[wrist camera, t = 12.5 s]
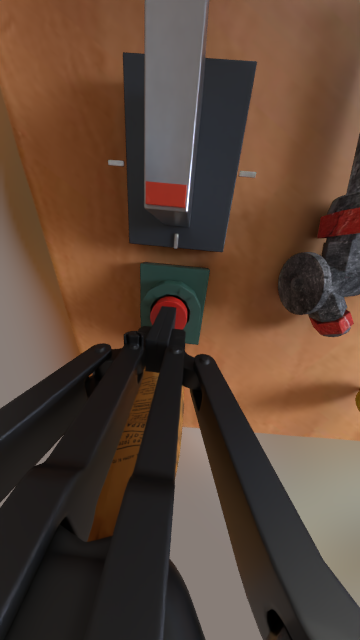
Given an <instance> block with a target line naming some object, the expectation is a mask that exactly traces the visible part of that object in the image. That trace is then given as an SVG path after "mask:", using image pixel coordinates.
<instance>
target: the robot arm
mask: <svg viewBox="0 0 360 640" xmlns="http://www.w3.org/2000/svg"><path fill="white" fill-rule="evenodd" d="M175 320H176V307H167V306H162V307H161V309H160V311H159V313H158V315H157V317H156V319H155V321H154V323H153V325H152V327H151V326H142V327H141V328H139V330H138V331H130V332H127V333H125V334H124V346H123V348H120V349H111V346H110V345H108V344H104V343H103V344H97V345H94V346H92V347H91V348H89V349H88V350H86V351H85V352H83V353H82V354H80V355H79V356H77V357H76V358H75V359H73V360H72V361H70V362H69V363H67V364H66V365H64V366H63V367H61V368H60V369H58V370H57V371H55V372H54V373H52V374H51V375H49V376H48V377H47V378H45V379H43V380H42V381H40V382H39V383H38V384H36V385H35V386H33V387H32V388H30V389H29V390H27V391H26V392H24V393H23V394H21V395H20V396H18V397H17V398H15V399H14V400H12V401H11V402H9V403H8V404H7V405H5V406H3V407H2V408H1V409H0V502H1V501H2V500H3V499H4V498H5V497H6V496H7V495H8V494H9V493H10V491H11V490H12V489H13V488H14V487H15V486H16V485H17V486H16V487H15V488H14V490H13V491H12V492H11V494H10V495H9V497H8V498H7V499H6V501H5V502H4V503H3V505H2V506H1V508H0V640H205V637H204V634H203V631H202V628H201V625H200V623H199V620H198V617H197V614H196V611H195V608H194V605H193V602H192V600H191V597H190V594H189V591H188V589H187V587H186V585H185V582H184V580H183V578H182V576H181V575H180V573H179V571H178V570H177V568H176V567H175V565H174V564H173V562H172V561H171V560H170V559H169V556H170V542H171V528H172V516H173V503H174V489H175V469H176V456H177V443H178V431H179V418H180V405H181V393H182V386H185V387H187V388H190V393H191V397H192V401H193V404H194V408H195V412H196V415H197V419H198V423H199V426H200V430H201V434H202V437H203V441H204V445H205V448H206V452H207V456H208V459H209V463H210V467H211V471H212V474H213V478H214V482H215V485H216V489H217V493H218V496H219V500H220V504H221V507H222V511H223V515H224V518H225V522H226V525H227V529H228V533H229V537H230V541H231V544H232V548H233V552H234V555H235V559H236V563H237V566H238V570H239V573H240V576H241V579H242V583H243V586H244V589H245V593H246V596H247V599H248V601H249V604H250V607H251V609H252V612H253V615H254V618H255V620H256V623H257V626H258V629H259V631H260V634H261V636H262V638H263V640H360V607H359V606H358V605H357V604H356V602H355V601H354V600H353V598H352V597H351V596H350V594H349V593H348V592H347V591H346V589H345V588H344V587H343V585H342V584H341V583H340V581H339V580H338V579H337V577H336V576H335V575H334V573H333V572H332V571H331V570H330V568H329V567H328V566H327V564H326V563H325V562H324V560H323V558H322V557H321V555H320V553H319V551H318V549H317V547H316V546H315V544H314V542H313V540H312V538H311V536H310V535H309V533H308V531H307V529H306V527H305V525H304V524H303V522H302V520H301V518H300V516H299V514H298V513H297V511H296V509H295V507H294V505H293V503H292V502H291V500H290V498H289V496H288V494H287V492H286V491H285V489H284V487H283V485H282V483H281V482H280V480H279V478H278V476H277V474H276V472H275V470H274V469H273V467H272V465H271V463H270V461H269V459H268V458H267V456H266V454H265V452H264V450H263V449H262V447H261V445H260V443H259V441H258V439H257V437H256V436H255V434H254V432H253V430H252V428H251V426H250V425H249V423H248V421H247V419H246V417H245V415H244V414H243V412H242V410H241V408H240V406H239V404H238V403H237V401H236V399H235V397H234V395H233V393H232V392H231V390H230V388H229V386H228V384H227V382H226V381H225V379H224V377H223V375H222V373H221V371H220V370H219V368H218V366H217V364H216V362H215V360H214V359H213V358H212V357H210V356H209V355H205V354H200V355H197V356H196V357H195V358H194V357H191V356H189V355H188V354H187V353H186V352H185V338H186V332H185V331H184V330H182V329H175ZM144 368H145V371H148V372H156V373H159V376H158V380H157V384H156V388H155V391H154V395H153V399H152V403H151V406H150V410H149V414H148V418H147V422H146V425H145V429H144V433H143V437H142V441H141V444H140V448H139V452H138V456H137V460H136V463H135V467H134V471H133V473H132V476H131V477H130V478H129V480H128V483H127V486H126V489H125V492H124V496H123V499H122V503H121V506H120V510H119V514H118V517H117V521H116V524H115V528H114V532H113V535H112V536H109V537H105V538H101V539H97V540H94V541H90V542H87V540H88V538H89V535H90V531H91V528H92V525H93V521H94V515H95V509H96V505H97V502H98V499H99V496H100V493H101V490H102V488H103V485H104V482H105V480H106V477H107V474H108V471H109V469H110V466H111V463H112V461H113V458H114V455H115V452H116V450H117V447H118V444H119V442H120V439H121V436H122V433H123V431H124V428H125V425H126V423H127V420H128V417H129V414H130V412H131V409H132V406H133V404H134V401H135V398H136V395H137V393H138V390H139V387H140V385H141V382H142V379H143V376H144ZM91 373H93V375H92V376H90V377H89V375H90V374H91ZM62 436H63V437H62ZM61 437H62V438H61ZM60 438H61V440H60V441H59V443H58V444H57V446H56V447H55V449H54V450H53V452H52V453H51V454H50V456H49V457H48V459H47V460H46V461H45V462H44V463H42V464H39V465H36V464H37V463H38V462H39V461H40V459H41V458H42V457H43V456H44V455H45V454H46V453H47V452H48V451H49V450H50V449H51V448H52V447H53V446H54V444H55V443H56V442H57V441H58V440H59V439H60ZM35 465H36V466H35Z"/></svg>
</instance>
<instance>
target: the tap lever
mask: <svg viewBox="0 0 360 640" xmlns="http://www.w3.org/2000/svg"><path fill="white" fill-rule="evenodd" d="M208 13H209V0H145V83H144V208H145V209H146V210H147V211H149V212H150V213H151V214H152V215H154V216H155V217H156V218H157V219H159V220H160V221H161V222H162V223H164V224H165V225H171V226H181V227H189V226H190V216H191V206H192V197H193V187H194V177H195V167H196V157H197V147H198V137H199V127H200V117H201V107H202V97H203V83H204V69H205V55H206V41H207V27H208Z"/></svg>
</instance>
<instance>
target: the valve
mask: <svg viewBox="0 0 360 640" xmlns="http://www.w3.org/2000/svg"><path fill="white" fill-rule="evenodd" d="M317 238H327V240H326V243H324V245H323V250H322V256H320V255H318V254H316V253H313V252H304V253H298V254H295V255H293V256H292V257H291V258H289V259H288V260H287V261H286V263H285V264H284V266H283V268H282V270H281V272H280V275H279V281H278V291H279V296H280V300H281V302H282V304H283V305H284V307H285V308H286V309H287V310H288V311H289V312H291V313H293V314H297V315H303V314H308V315H309V318H310V320H311V323H312V325H313V327H314V328H315V329H316V330H317V331H318V332H319V333H320V334H321V335H323V336H327V337H338V336H341V335H343V334H346V333H347V332H348V331H349V330H350V328H351V327H350V326H351V325H352V324H354V323H353V320H352V316H351V313H350V312H349V311H348V310H346V308H347V305H346V303H345V300H344V297H348V296H355V295H359V294H360V134H359V139H358V143H357V148H356V152H355V157H354V161H353V166H352V171H351V175H350V180H349V184H348V189H347V193H346V195H344V196H341V197H338V198H337V199H335V200H334V201H333V202H332V204H331V206H330V208H329V210H328V213H327V215H325V216H322V217H321V219H320V225H319V231H318V236H317Z"/></svg>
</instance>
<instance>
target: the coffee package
mask: <svg viewBox="0 0 360 640" xmlns="http://www.w3.org/2000/svg"><path fill="white" fill-rule="evenodd" d="M158 376H159V373H156V372H148V371H145V368H144V376H143V379H142V382H141V385H140V387H139V390H138V393H137V395H136V398H135V401H134V404H133V406H132V409H131V412H130V414H129V417H128V420H127V423H126V425H125V428H124V431H123V433H122V436H121V439H120V442H119V444H118V447H117V450H116V452H115V455H114V458H113V461H112V463H111V466H110V469H109V471H108V474H107V477H106V480H105V482H104V485H103V488H102V490H101V493H100V496H99V499H98V502H97V505H96V509H95V515H94V521H93V525H92V528H91V531H90V535H89V538H88V540H87V542H90V541H94V540H97V539H101V538H105V537H109V536H112V535H113V532H114V528H115V524H116V521H117V517H118V514H119V510H120V506H121V503H122V499H123V496H124V492H125V489H126V486H127V483H128V480H129V478H130V477H131V476H132V473H133V471H134V467H135V463H136V460H137V456H138V452H139V448H140V444H141V441H142V437H143V433H144V429H145V425H146V422H147V418H148V414H149V410H150V406H151V403H152V399H153V395H154V391H155V388H156V384H157V380H158ZM183 411H184V388H183V386H182V393H181V405H180V418H179V431H178V443H177V456H176V469H175V476H176V472H177V467H178V461H179V454H180V446H181V435H182V422H183Z"/></svg>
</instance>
